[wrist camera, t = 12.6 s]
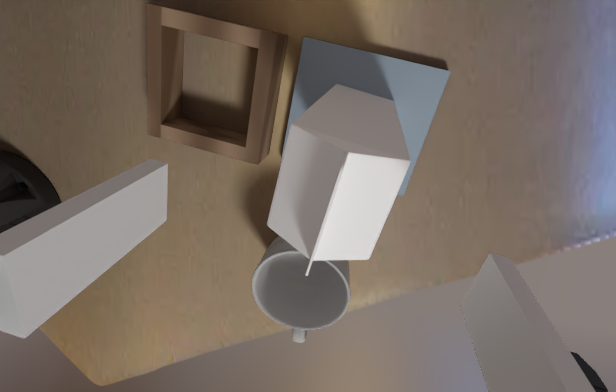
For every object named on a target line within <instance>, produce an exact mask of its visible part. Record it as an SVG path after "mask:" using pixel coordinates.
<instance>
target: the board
mask: <svg viewBox="0 0 616 392" xmlns="http://www.w3.org/2000/svg"><path fill="white" fill-rule="evenodd" d="M450 72H451V71H448V70H444V69H439V68H435V67H431V66H427V65H422V64H418V63H414V62H410V61H406V60H401V59H397V58H393V57H389V56H384V55H380V54H376V53H372V52H368V51H363V50H359V49H355V48H351V47H346V46H342V45H338V44H334V43H330V42H325V41H321V40H317V39H313V38H308V37H304V38H303V44H302V49H301V54H300V60H299V65H298V71H297V76H296V82H295V87H294V93H293V98H292V104H291V109H290V114H289V120H288V125H287V131H286V136H285V142H284V147H283V153H282V158H283V154H284V150H285V145H286V141H287V137H288V133H289V129H290V125H291V123H292V122H293V121H294V120H296V119H297V118H298V117H299V116H300V115H301V114H303V113H304V112H305V111H306V110H307V109H308V108H309V107H311V106H312V105H313V104H314V103H315V102H316V101H318V100H319V99H320V98H321V97H322V96H323V95H325V94H326V93H327V92H328V91H329V90H330V89H331V88H333V87H334V86H335V85H336V84H340V85H343V86H346V87H350V88H353V89H356V90H359V91H363V92H366V93H369V94H373V95H376V96H379V97H382V98H386V99H389V100H392V101H394V102H395V105H396V109H397V112H398V116H399V119H400V123H401V127H402V130H403V134H404V138H405V141H406V145H407V149H408V152H409V156H410V159H411V163H410V165H409V168H408V170H407V172H406V175H405V177H404V179H403V181H402V184H401V186H400V188H399V191H398V193H397V194H398V195H402V196H403V195H404V192H405V190H406V187H407V185H408V182H409V179H410V177H411V174H412V171H413V169H414V166H415V164H416V161H417V158H418V156H419V153H420V150H421V148H422V145H423V143H424V140H425V137H426V135H427V132H428V129H429V127H430V124H431V122H432V119H433V116H434V114H435V111H436V108H437V106H438V103H439V101H440V98H441V95H442V93H443V90H444V87H445V85H446V82H447V80H448V77H449V74H450ZM282 158H281V162H282Z"/></svg>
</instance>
